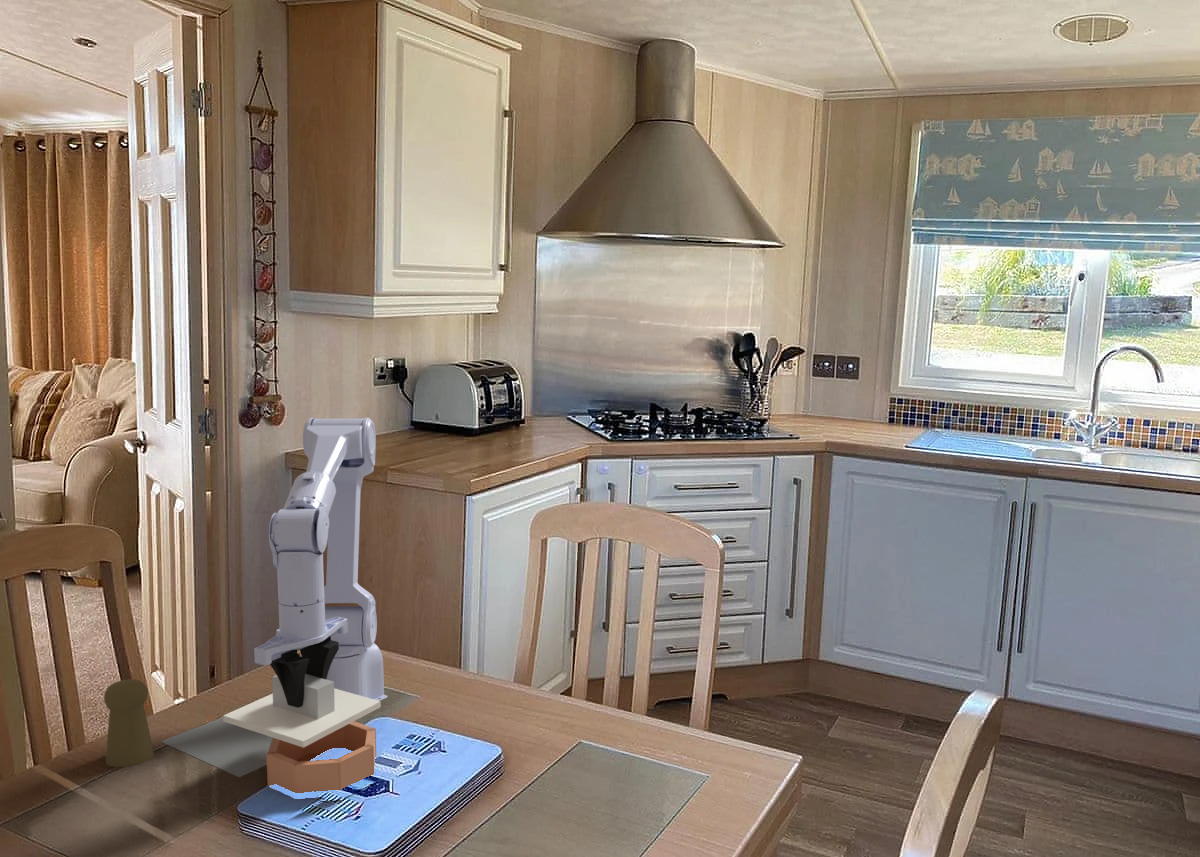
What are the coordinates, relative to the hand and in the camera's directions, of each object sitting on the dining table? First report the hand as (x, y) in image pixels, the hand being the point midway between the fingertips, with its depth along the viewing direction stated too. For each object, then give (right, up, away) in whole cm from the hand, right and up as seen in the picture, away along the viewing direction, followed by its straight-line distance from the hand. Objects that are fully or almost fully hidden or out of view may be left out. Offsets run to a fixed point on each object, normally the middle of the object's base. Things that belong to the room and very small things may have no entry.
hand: (305, 700), depth 131 cm
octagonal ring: (+3, -10, -1) cm, 10 cm away
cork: (-25, -9, +3) cm, 27 cm away
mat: (-10, -8, +10) cm, 17 cm away
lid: (0, -2, 0) cm, 2 cm away
